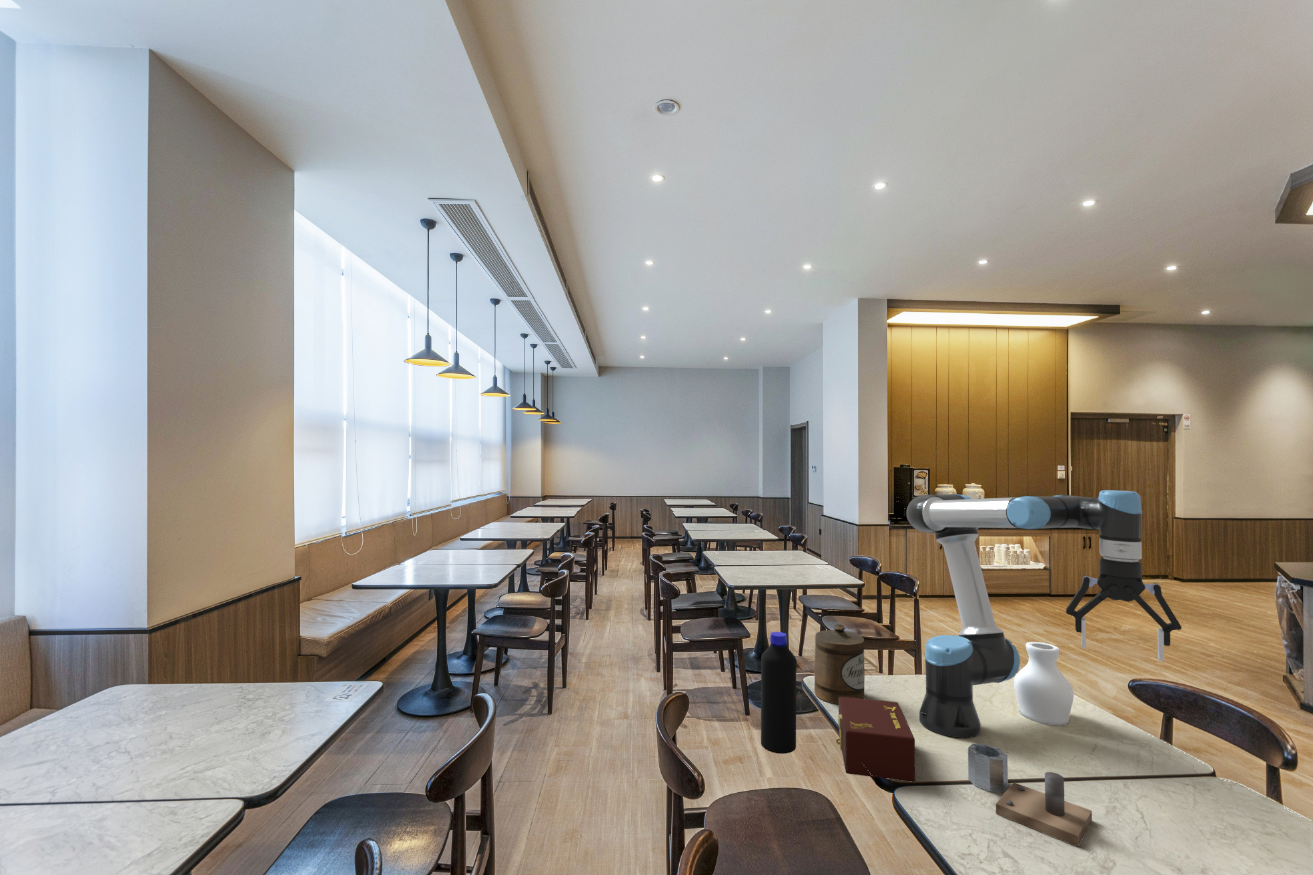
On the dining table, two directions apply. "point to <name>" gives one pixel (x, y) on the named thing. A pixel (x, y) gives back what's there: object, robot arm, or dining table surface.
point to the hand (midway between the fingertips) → (1121, 653)
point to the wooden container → (839, 664)
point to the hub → (988, 767)
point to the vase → (1043, 687)
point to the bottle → (778, 696)
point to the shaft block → (1046, 810)
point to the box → (875, 739)
